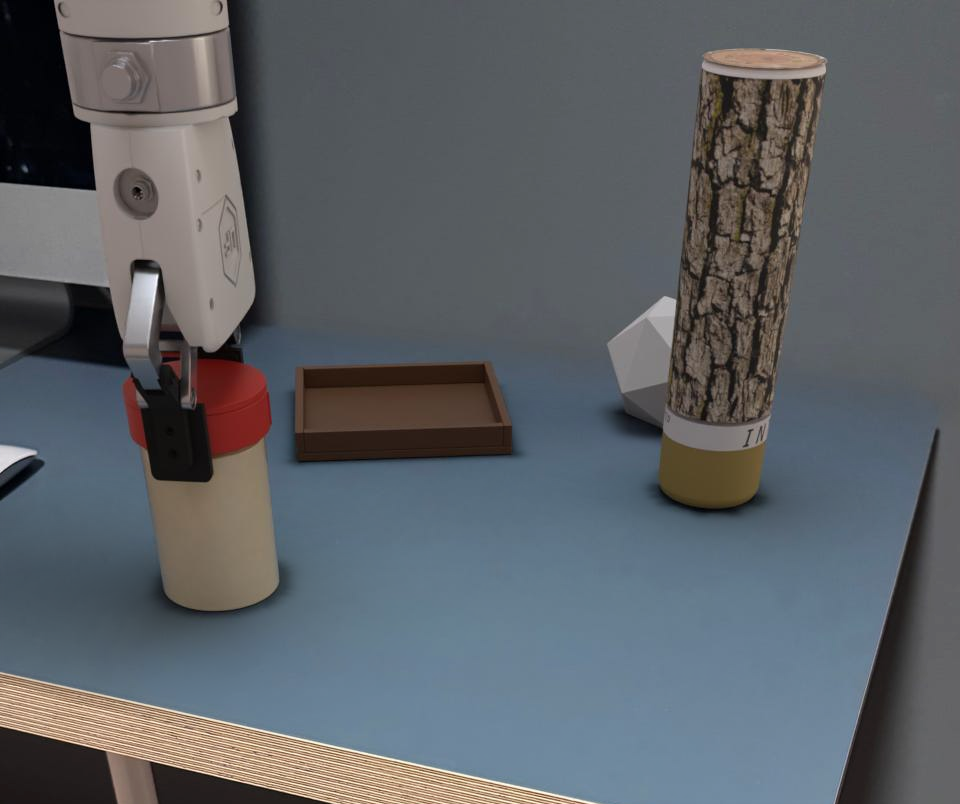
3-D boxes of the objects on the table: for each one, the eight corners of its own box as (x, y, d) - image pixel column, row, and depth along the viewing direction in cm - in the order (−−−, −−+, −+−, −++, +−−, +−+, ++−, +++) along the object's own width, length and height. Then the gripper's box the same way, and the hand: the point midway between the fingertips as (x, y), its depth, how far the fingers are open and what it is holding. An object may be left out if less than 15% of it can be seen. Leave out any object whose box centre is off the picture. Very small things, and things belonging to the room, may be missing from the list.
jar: (158, 614, 71) (125, 420, 64) (168, 558, 77) (138, 374, 69) (278, 608, 72) (258, 416, 65) (280, 554, 77) (261, 370, 70)
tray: (297, 461, 88) (294, 432, 87) (297, 393, 98) (295, 366, 97) (511, 454, 89) (512, 425, 88) (490, 387, 99) (490, 360, 98)
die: (749, 433, 94) (738, 298, 94) (714, 408, 86) (701, 259, 86) (643, 457, 98) (632, 327, 98) (599, 434, 90) (587, 293, 90)
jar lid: (274, 401, 71) (270, 357, 70) (269, 454, 66) (264, 407, 64) (138, 404, 71) (131, 359, 69) (121, 458, 65) (113, 411, 64)
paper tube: (656, 510, 82) (704, 66, 66) (656, 468, 88) (700, 47, 71) (760, 515, 82) (834, 70, 66) (754, 473, 87) (821, 50, 71)
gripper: (181, 114, 51) (233, 520, 62) (271, 48, 64) (301, 393, 75) (1, 110, 51) (86, 514, 63) (128, 45, 64) (178, 388, 76)
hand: (203, 445), depth 69 cm, fingers closed on jar lid, 7 cm apart
